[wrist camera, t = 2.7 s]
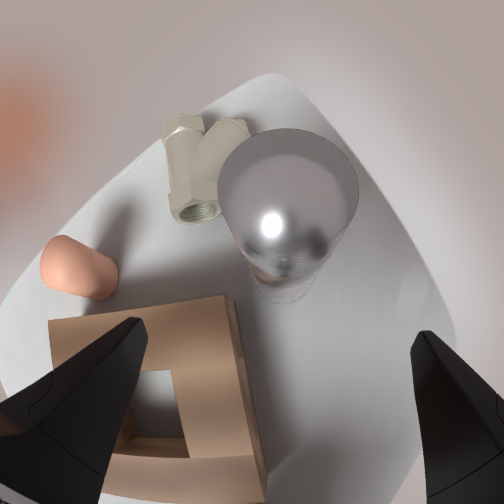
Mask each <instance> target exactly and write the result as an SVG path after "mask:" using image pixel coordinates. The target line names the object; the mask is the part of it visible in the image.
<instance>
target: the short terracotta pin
mask: <svg viewBox="0 0 504 504" xmlns="http://www.w3.org/2000/svg"><path fill="white" fill-rule="evenodd" d="M40 275H41V278H42V280H43V282H44V284H45V285H46V286H47V287H49V288H51V289H55V290H59V291H62V292H66V293H70V294H74V295H78V296H82V297H86V298H91V299H95V300H104V299H106V298H108V297H109V296H111V295H112V293H113V292H114V291H115V289H116V287H117V284H118V278H119V273H118V268H117V266H116V264H115V262H114V261H113V260H112V259H111V258H109V257H107V256H105V255H103V254H101V253H99V252H97V251H95V250H93V249H91V248H89V247H87V246H85V245H84V244H82V243H80V242H78V241H76V240H74V239H72V238H70V237H68V236H66V235H58V236H56V237H54V238H52V239H51V240H50V241H49V242H48V244H47V245H46V246H45V248H44V250H43V252H42V255H41V259H40Z"/></svg>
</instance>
